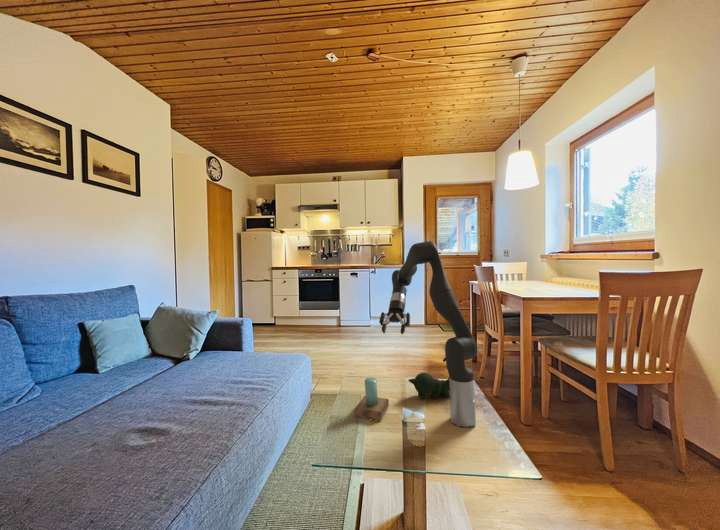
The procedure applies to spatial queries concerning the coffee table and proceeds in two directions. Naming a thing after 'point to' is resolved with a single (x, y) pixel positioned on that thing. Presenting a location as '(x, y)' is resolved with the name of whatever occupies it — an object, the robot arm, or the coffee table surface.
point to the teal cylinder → (371, 391)
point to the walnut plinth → (372, 409)
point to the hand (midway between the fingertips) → (392, 332)
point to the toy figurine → (430, 385)
